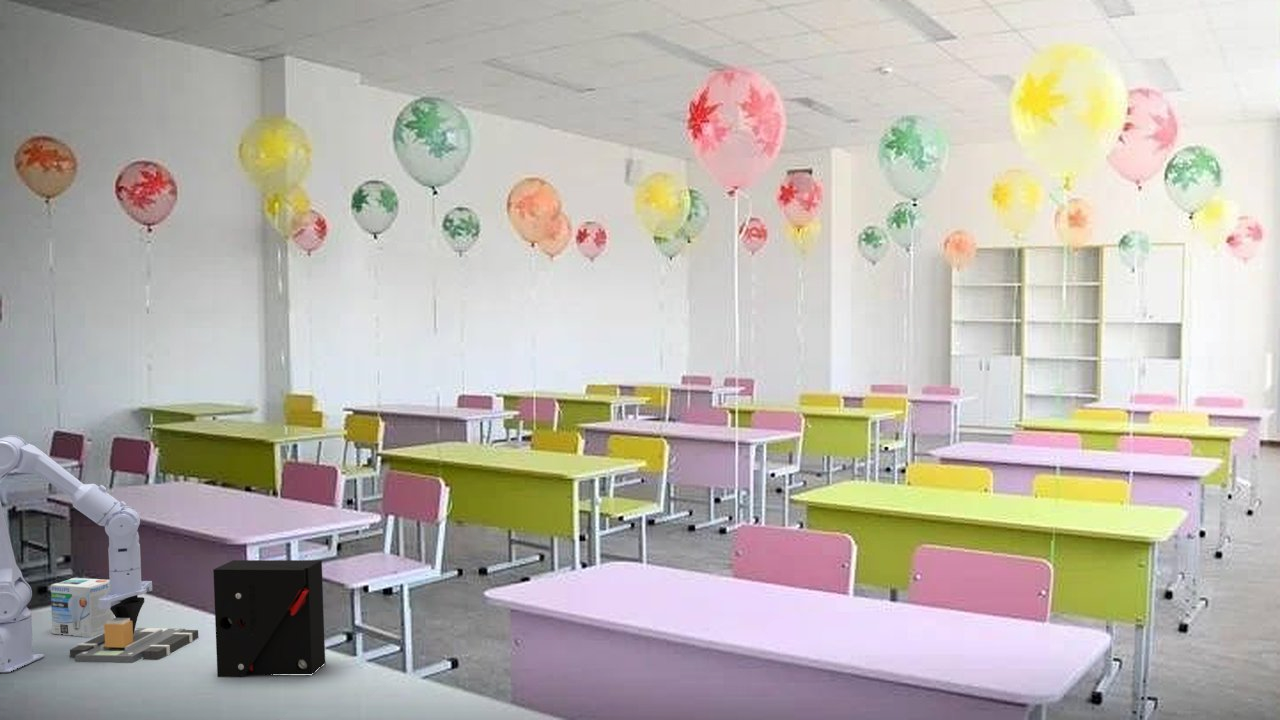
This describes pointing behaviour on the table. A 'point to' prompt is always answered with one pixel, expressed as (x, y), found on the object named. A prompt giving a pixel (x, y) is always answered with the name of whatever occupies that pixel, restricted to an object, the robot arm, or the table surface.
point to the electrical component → (269, 617)
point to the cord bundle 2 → (170, 644)
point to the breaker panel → (128, 646)
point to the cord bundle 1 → (87, 645)
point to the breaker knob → (118, 632)
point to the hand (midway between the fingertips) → (127, 635)
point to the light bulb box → (79, 607)
